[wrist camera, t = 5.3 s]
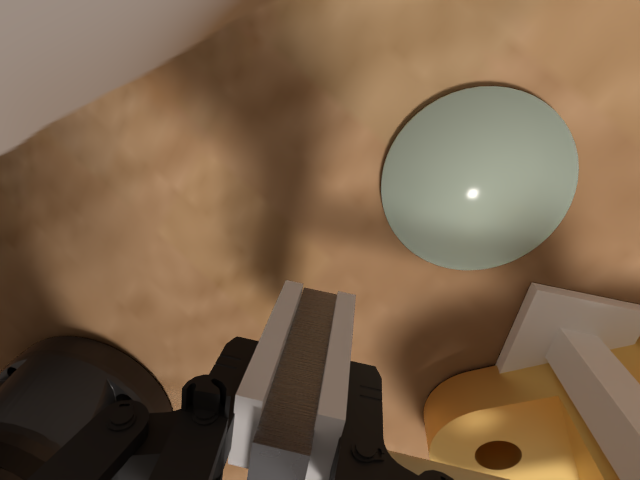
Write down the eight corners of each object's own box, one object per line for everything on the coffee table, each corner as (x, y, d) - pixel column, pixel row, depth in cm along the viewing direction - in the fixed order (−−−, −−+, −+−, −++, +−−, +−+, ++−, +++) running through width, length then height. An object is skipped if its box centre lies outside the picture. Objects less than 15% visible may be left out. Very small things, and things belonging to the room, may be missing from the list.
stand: (325, 328, 29) (253, 666, 12) (342, 243, 26) (280, 531, 9) (593, 387, 27) (924, 854, 11) (642, 305, 25) (1184, 761, 8)
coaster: (364, 247, 26) (364, 251, 25) (405, 69, 21) (406, 69, 21) (531, 282, 25) (534, 286, 25) (609, 105, 21) (614, 106, 20)
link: (276, 444, 21) (224, 639, 14) (304, 287, 17) (252, 442, 10) (303, 451, 21) (265, 650, 14) (337, 294, 17) (310, 456, 10)
